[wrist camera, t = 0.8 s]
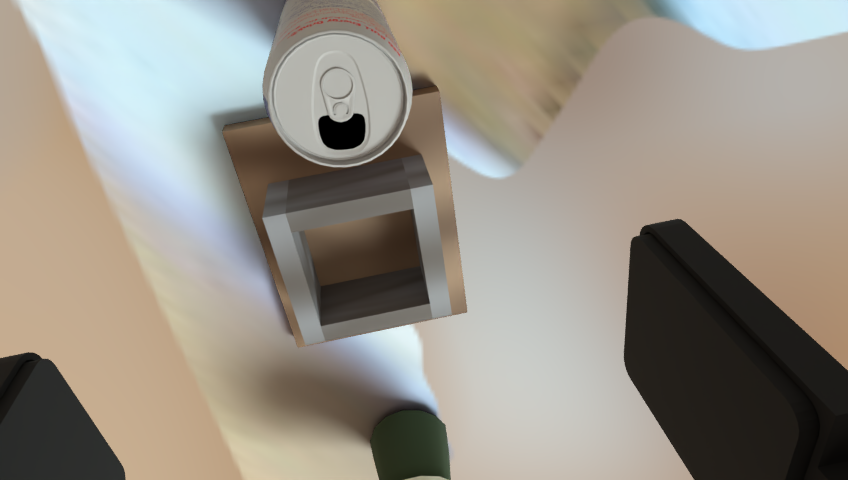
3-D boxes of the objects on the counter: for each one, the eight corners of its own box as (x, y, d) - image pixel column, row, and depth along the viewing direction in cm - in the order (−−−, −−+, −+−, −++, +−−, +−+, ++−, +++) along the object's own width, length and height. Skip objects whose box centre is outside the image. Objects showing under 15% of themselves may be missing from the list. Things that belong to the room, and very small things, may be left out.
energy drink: (288, 82, 31) (273, 178, 21) (273, -25, 28) (247, 26, 18) (386, 76, 32) (417, 166, 22) (381, -30, 29) (413, 18, 19)
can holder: (224, 125, 32) (210, 162, 28) (436, 86, 33) (453, 116, 28) (298, 338, 41) (295, 390, 36) (464, 303, 41) (480, 351, 37)
